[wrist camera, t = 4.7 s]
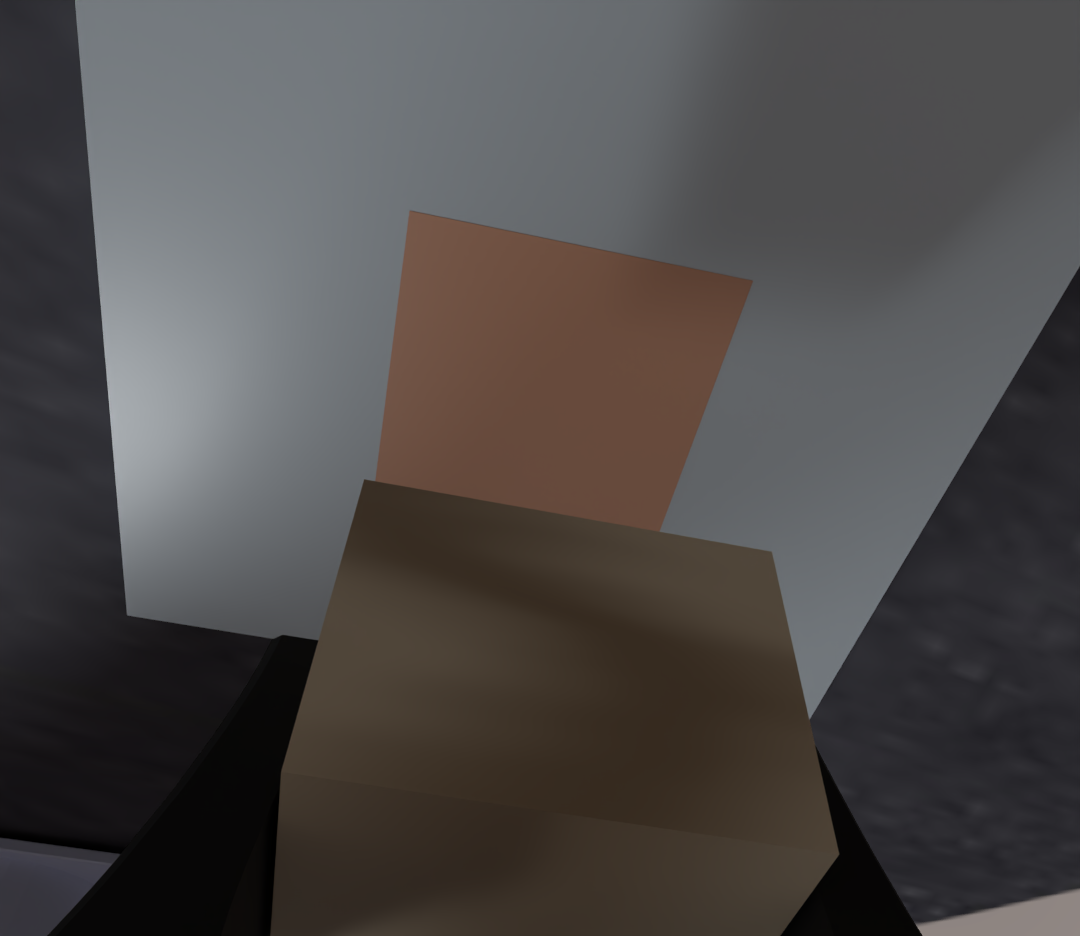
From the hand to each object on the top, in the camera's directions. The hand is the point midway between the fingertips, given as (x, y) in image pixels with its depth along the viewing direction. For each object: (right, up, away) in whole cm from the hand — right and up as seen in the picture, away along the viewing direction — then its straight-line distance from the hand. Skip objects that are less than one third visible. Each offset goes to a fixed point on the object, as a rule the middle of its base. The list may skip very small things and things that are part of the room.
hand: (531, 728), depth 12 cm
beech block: (0, +1, +1) cm, 1 cm away
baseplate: (0, +5, +6) cm, 8 cm away
